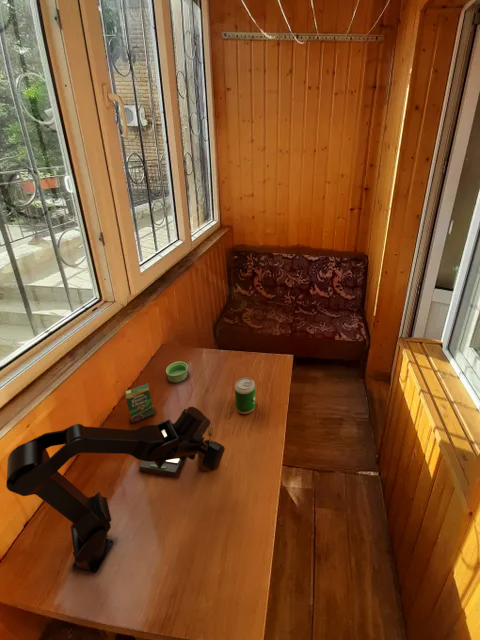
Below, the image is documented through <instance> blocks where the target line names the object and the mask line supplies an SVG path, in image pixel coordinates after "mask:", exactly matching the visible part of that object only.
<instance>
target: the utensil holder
mask: <svg viewBox="0 0 480 640" xmlns="http://www.w3.org/2000/svg"><path fill="white" fill-rule="evenodd" d="M207 435H208V436H209V439H204V440H203V442H204V443H206V444H207V445H210V443H211V442H214V440H212V439H211V438H212V437H213V435H214V426H212V425H209V426H208V428H207ZM202 447H203V446H202ZM204 448H205V447H204ZM204 456H205V455H204V454H203V453H201V452H199V453H198V454H197V462H198V467H199V469H201V470H202V471H205V472H206V471H210V470H209V469H208V468H206V467H204V466H203V465H202V461H203V459H204Z"/></svg>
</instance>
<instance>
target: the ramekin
mask: <svg viewBox="0 0 480 640" xmlns="http://www.w3.org/2000/svg"><path fill="white" fill-rule="evenodd" d="M188 368H189V365H188V364H187V363H186V362H184V361H175V362H172V363H170V364H169V365H168V366H167V367H166V369H165V373H166V376H167V379H168V381H169V382H170V383H176V384H177V383H180V382H182V381H184V380H185V379H187V377H188Z"/></svg>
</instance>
